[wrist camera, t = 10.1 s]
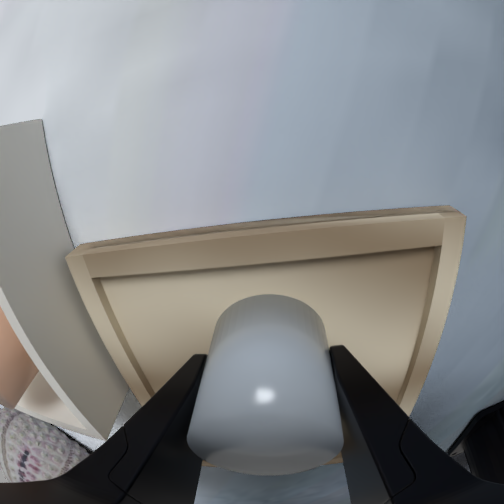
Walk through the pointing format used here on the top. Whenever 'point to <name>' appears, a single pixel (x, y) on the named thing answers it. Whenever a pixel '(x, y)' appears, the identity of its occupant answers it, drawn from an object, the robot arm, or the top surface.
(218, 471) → the top surface
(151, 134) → the top surface
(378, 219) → the parts tray
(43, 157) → the square storage bin
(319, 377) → the slate pebble
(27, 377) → the peach rounded cylinder
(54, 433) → the sea urchin shell
